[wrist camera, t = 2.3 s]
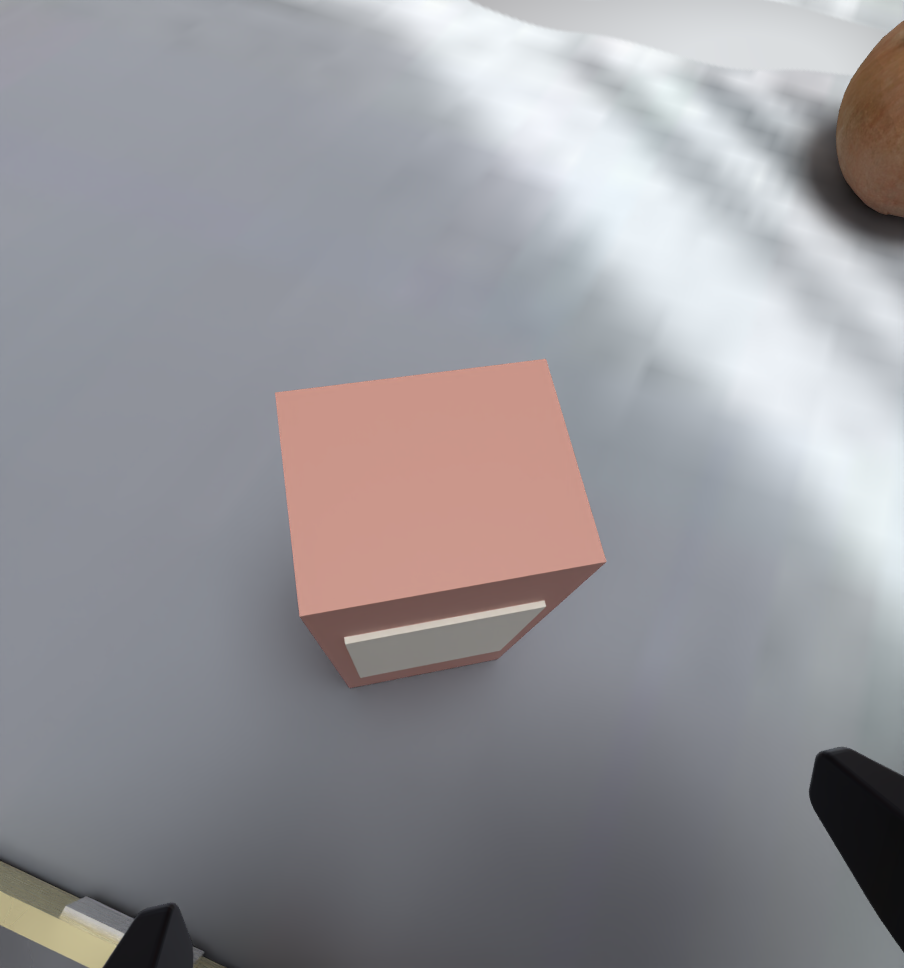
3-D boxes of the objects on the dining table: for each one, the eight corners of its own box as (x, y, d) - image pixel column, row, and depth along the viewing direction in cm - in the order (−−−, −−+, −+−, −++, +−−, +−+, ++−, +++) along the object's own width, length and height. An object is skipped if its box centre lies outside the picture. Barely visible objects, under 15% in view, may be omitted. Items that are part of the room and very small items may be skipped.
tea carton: (498, 662, 21) (608, 569, 10) (350, 692, 21) (300, 624, 10) (472, 547, 23) (546, 359, 12) (333, 570, 22) (275, 392, 11)
